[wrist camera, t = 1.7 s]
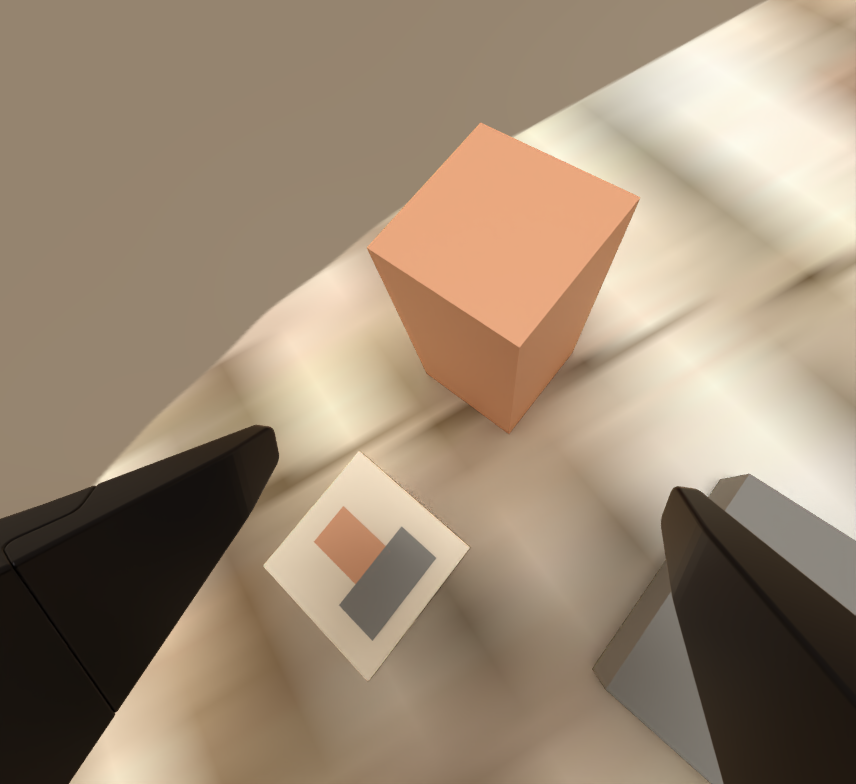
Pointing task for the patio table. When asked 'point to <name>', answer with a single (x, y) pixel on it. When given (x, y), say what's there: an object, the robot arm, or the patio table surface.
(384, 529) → the card
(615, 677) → the slate base block
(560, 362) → the terracotta block
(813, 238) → the patio table surface
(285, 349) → the patio table surface
